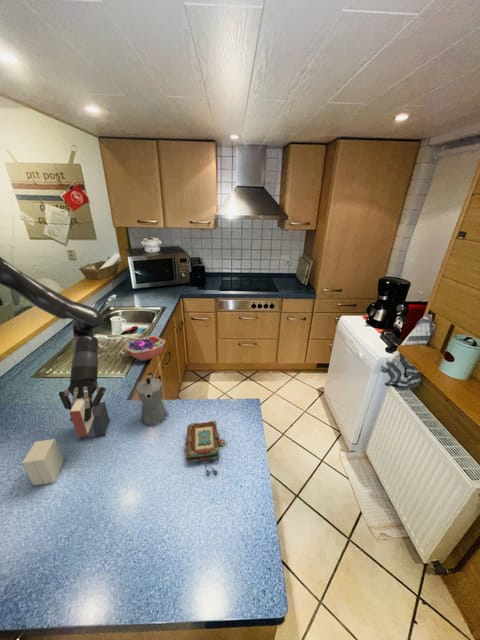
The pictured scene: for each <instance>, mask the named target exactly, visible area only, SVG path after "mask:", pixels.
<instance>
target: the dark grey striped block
mask: <svg viewBox="0 0 480 640" xmlns="http://www.w3.org/2000/svg"><path fill="white" fill-rule="evenodd" d="M92 413H93V417H94V420H93V422H92V425H91V427H90V429H89V432H88V434H87V436H81V437H79V439H80V440H81V439H88V438H95V437H103V436H105V435H106V432H107V429H108V426H109V424H110V416H109V414H108V408H107V405H106V402H105V401H100V402H99V404H98V406H94V407H93V408H92Z"/></svg>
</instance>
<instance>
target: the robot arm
mask: <svg viewBox="0 0 480 640" xmlns="http://www.w3.org/2000/svg"><path fill="white" fill-rule="evenodd" d="M0 285H1V286H2V287H5V288H7V289H9V290H10V291H13V292H14V293H16V294H17V295H19V296H20V297H21V298H23V299H24V300H25V301H27V302H28V303H30V304H32V306H34V307H36V308H37V309H40V310H41V311H43V312H46V313H47V314H49V315H51V316H53V317H56V318H58V319H61V320H67V319H71V320H73V321H72V335H73V340H74V344H73V345H74V346H73V355H72V358H71V367H70V377H69V379H70V380H69V385H68V387H67V389H65V390H63V391H59V392H58V396H59V398H60V400H61V403H62V405H63V407H64V409H65V410H69V411H71V409H72V407H73V405H74V404H75V402H76V401H77V399H79V398H84V401H85V407H86V409H85V412H84V422H87V421H89V419H91V411H92V408H93V407H94V406H98V404H99V403H100V402H102V399H103V397H104V395H105V393H106V391H107V388H106V387H104V386H99V384H98V370H99V369H98V368H99V340H98V338H97V337H96V336H95V335H94V331H95V330H96V329H98V328H99V327H101V326H102V325H103V323H104V316H103V314H102V313H101V312H100V311H99V310H97V308H94V307H92V306H90V305H87V304H84V303H81V302H77V301H74V300H72V299H70V298H68V297H66V296H64V295H62V294H61V293H59V292H57V291H56V290H53V289H52V288H50V287H48V286H46V285H44V284H42V283H41V282H39V281H38V280H35V279H34V278H32V277H30V275H29V276H28V275H27V274H26V273H24V272H22V270H19V269H18V268H16V267H15V266H13V265H12V264H11V263H10V262H8V261H7V260H5V259H4V258H3V257H2V256H0ZM95 392H96V394H95V396H94V398H93V395H94V393H95ZM70 395H71V396H72V399H71V400H70V398H69V397H70ZM70 422H72V419H71V418H70ZM72 424H73V422H72Z"/></svg>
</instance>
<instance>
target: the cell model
mask: <svg viewBox="0 0 480 640" xmlns="http://www.w3.org/2000/svg"><path fill="white" fill-rule="evenodd" d="M165 344H166V339H164V338H161V337H159V336H154V335H153V336H152V335H146V336H142V337H139V338H134V339H132V340H130V341H128V342H127V343H126V344H125V349H126V351H127V353H128V354H129V355H130V356H131V357H133V358H134V359H136V360H138V361H141V362H143V361H148V360H152V359H154V358H157V357H158V356H159V355H161V354H163V352H164V348H165Z"/></svg>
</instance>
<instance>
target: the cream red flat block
mask: <svg viewBox="0 0 480 640" xmlns="http://www.w3.org/2000/svg"><path fill="white" fill-rule="evenodd" d="M85 409H86V407H85V401H84V398H79V399H77V401H76V402H75V404H74V405H73V407H72V409H71V410H69V416H70V420H71V419H72V421H71V422H73V423H72V424H73V427H74V431H75V432H76V434H77V438H80V437H81V436H87V434H88V432H89V429H90V427H91V425H92V422H93V420H94V417H93V413H92V411H91V419H89V421H87V422H84V412H85Z"/></svg>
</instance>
